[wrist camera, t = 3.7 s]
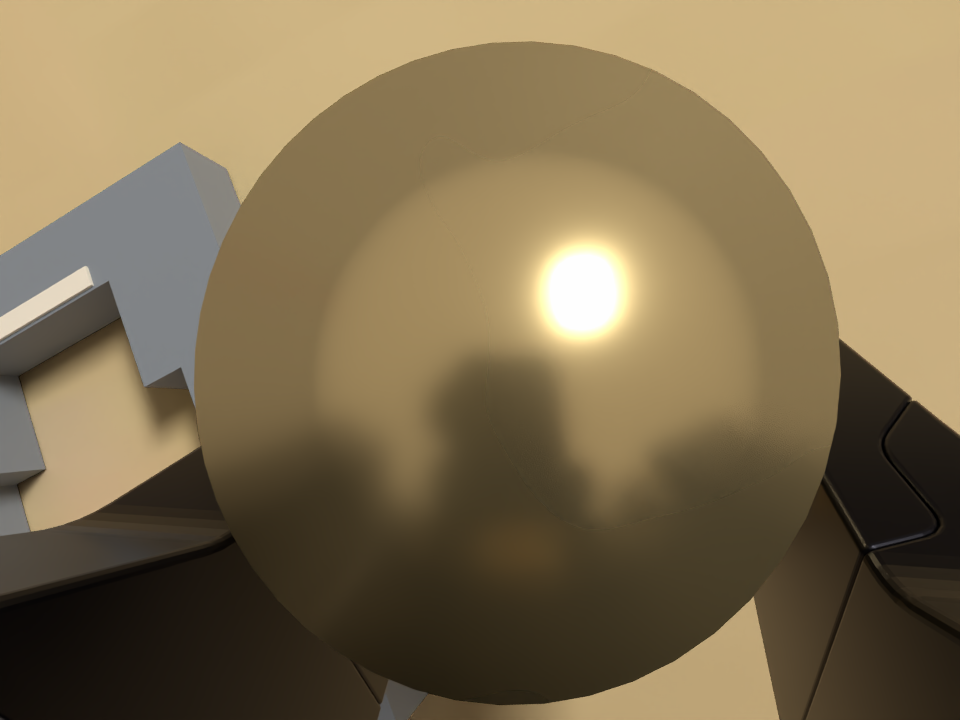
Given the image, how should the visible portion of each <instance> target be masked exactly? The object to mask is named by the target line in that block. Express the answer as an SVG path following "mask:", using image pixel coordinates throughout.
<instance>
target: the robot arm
mask: <svg viewBox="0 0 960 720" xmlns="http://www.w3.org/2000/svg"><path fill="white" fill-rule="evenodd" d="M839 348H840V366H841V378H840V390H839V401H838V412H837V423H836V427H835V432H834V436H833V440H832V444H831V448H830V452H829V456H828V461H827V465H826V469H825V473H824V475H823V478H822V480H821V483H820V485H819V488H818V490H817V493H816V495H815V498H814V500H813V503H812V505H811V508H810V510H809V513H808V515H807V517H806V519H805V521H804V523H803V525H802V526H801V528H800V530H799V531H798V533H797V535H796V537H795V538H794V540H793V542H792V543H791V545H790V547H789V549H788V550H787V552H786V554H785V555H784V557H783V559H782V561H781V562H780V563H779V565H778V566H777V567H776V568H775V570H774V571H773V572H772V573H771V575H770V576H769V577H768V578H767V580H766V581H765V582H764V583H763V585H762V586H761V587H760V588H759V590H758V591H757V592H756V593H755V595H754V600H755V605H756V610H757V615H758V619H759V624H760V629H761V634H762V638H763V643H764V648H765V653H766V658H767V662H768V667H769V672H770V677H771V681H772V686H773V691H774V696H775V700H776V705H777V710H778V715H779V719H780V720H960V435H959V434H958V433H956V432H955V431H954V430H952V429H951V428H950V427H949V426H947V425H946V424H945V423H943V422H942V421H941V420H939V419H938V418H937V417H936V416H935V415H933V414H932V413H931V412H930V411H928V410H927V409H926V408H925V407H923V406H922V405H921V404H920V403H919V402H917V401H912V398H911V396H910V395H908V394H907V393H906V392H905V391H903V390H902V389H901V388H900V387H898V386H897V385H896V384H895V383H894V382H892V381H891V380H890V379H889V378H887V377H886V376H885V375H884V374H882V373H881V372H880V371H879V370H878V369H876V368H875V367H874V366H873V365H871V364H870V363H869V362H868V361H867V360H865V359H864V358H863V357H862V356H860V355H859V354H858V353H857V352H855V351H854V350H853V349H852V348H851V347H849V346H848V345H847V344H846V343H844V342H843V341H842V340H841V339H839ZM388 680H389V679H387V678H384V677H382V676H379V675H377V674H375V673H373V672H371V671H369V670H368V669H366V668H364V667H362V666H361V665H359V664H357V663H355V662H354V661H352V660H350V659H348V658H347V657H345V656H343V655H341V654H340V653H338V652H337V651H336V650H334V649H333V648H332V647H330V646H329V645H328V644H326V643H325V642H324V641H322V640H321V639H320V638H318V637H317V636H316V635H314V634H313V633H312V632H310V631H309V630H308V629H307V628H305V627H304V626H303V625H302V624H301V623H300V622H299V621H298V620H297V619H296V618H295V617H294V616H293V615H292V614H291V613H290V612H289V611H288V610H287V609H286V608H285V607H284V606H283V605H282V604H281V603H280V602H279V601H278V600H277V599H276V597H275V596H274V595H273V594H272V592H271V591H270V590H269V589H268V587H267V586H266V585H265V584H264V582H263V581H262V580H261V579H260V577H259V576H258V575H257V573H256V572H255V571H254V570H253V568H252V567H251V565H250V563H249V562H248V560H247V558H246V557H245V555H244V553H243V552H242V550H241V549H240V547H239V545H238V544H237V542H236V540H235V539H234V537H233V535H232V533H231V531H230V529H229V527H228V524H227V522H226V520H225V518H224V516H223V514H222V511H221V509H220V507H219V505H218V503H217V500H216V497H215V494H214V491H213V488H212V485H211V482H210V479H209V476H208V473H207V469H206V466H205V463H204V458H203V453H202V448H201V446H200V447H199V448H197V449H196V450H194V451H193V452H191V453H189V454H188V455H186V456H185V457H183V458H181V459H180V460H178V461H177V462H175V463H173V464H172V465H170V466H169V467H167V468H165V469H164V470H162V471H161V472H159V473H157V474H156V475H154V476H153V477H151V478H149V479H148V480H146V481H145V482H143V483H141V484H140V485H138V486H137V487H135V488H134V489H132V490H130V491H129V492H127V493H126V494H124V495H122V496H121V497H119V498H118V499H116V500H114V501H113V502H111V503H110V504H108V505H106V506H104V507H103V508H101V509H99V510H97V511H96V512H94V513H91V514H89V515H87V516H85V517H83V518H81V519H78V520H75V521H73V522H70V523H67V524H64V525H61V526H57V527H53V528H49V529H45V530H40V531H33V532H26V533H19V534H11V535H4V536H0V720H378V717H379V713H380V710H381V707H380V705H379V704H381V703H382V701H383V698H384V694H385V691H386V687H387V684H388Z"/></svg>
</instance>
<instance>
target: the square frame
mask: <svg viewBox="0 0 960 720" xmlns="http://www.w3.org/2000/svg"><path fill="white" fill-rule="evenodd" d="M240 206H241V205H240V202H239V200H238V197H237V195H236V192H235V190H234V187H233V184H232V182H231V179H230V177H229V174H228V171H227V169H226V168H224V167H222V166H221V165H219V164H217V163H215V162H214V161H212V160H210V159H208V158H207V157H205V156H203V155H201V154H200V153H198V152H196V151H194V150H193V149H191V148H189V147H187V146H186V145H184V144H182V143H180V142H179V143H178V144H176V145H174V146H173V147H171V148H170V149H168V150H167V151H165V152H163V153H162V154H160V155H159V156H157V157H155V158H154V159H152V160H151V161H149V162H148V163H146V164H144V165H143V166H141V167H140V168H138V169H136V170H135V171H133V172H132V173H130V174H129V175H127V176H125V177H124V178H122V179H121V180H119V181H117V182H116V183H114V184H113V185H111V186H110V187H108V188H106V189H105V190H103V191H102V192H100V193H99V194H97V195H95V196H94V197H92V198H91V199H89V200H87V201H86V202H84V203H83V204H81V205H80V206H78V207H76V208H75V209H73V210H72V211H70V212H68V213H67V214H65V215H64V216H62V217H61V218H59V219H57V220H56V221H54V222H53V223H51V224H49V225H48V226H46V227H45V228H43V229H42V230H40V231H38V232H37V233H35V234H34V235H32V236H31V237H29V238H27V239H26V240H24V241H23V242H21V243H19V244H18V245H16V246H15V247H13V248H12V249H10V250H8V251H7V252H5V253H4V254H2V255H0V536H4V535H11V534H19V533H26V532H30V529H29V526H28V522H27V519H26V515H25V512H24V508H23V505H22V501H21V498H20V494H19V491H18V487H17V484H18V483H20V482H22V481H24V480H26V479H28V478H30V477H31V476H33V475H35V474H37V473H39V472H41V471H43V470H45V465H44V462H43V458H42V455H41V452H40V448H39V445H38V442H37V438H36V435H35V431H34V428H33V425H32V421H31V418H30V415H29V411H28V408H27V404H26V401H25V398H24V394H23V391H22V388H21V384H20V381H19V377H18V376H19V375H21V374H23V373H25V372H26V371H28V370H30V369H32V368H33V367H35V366H37V365H39V364H40V363H42V362H44V361H45V360H47V359H49V358H51V357H52V356H54V355H56V354H58V353H59V352H61V351H63V350H65V349H66V348H68V347H70V346H71V345H73V344H75V343H77V342H78V341H80V340H82V339H84V338H85V337H87V336H89V335H91V334H92V333H94V332H96V331H98V330H99V329H101V328H103V327H104V326H106V325H108V324H110V323H111V322H113V321H115V320H117V319H118V318H120V317H121V319H122V322H123V325H124V328H125V331H126V334H127V337H128V340H129V343H130V346H131V349H132V352H133V355H134V358H135V361H136V364H137V367H138V370H139V373H140V376H141V379H142V382H143V385H144V387H154V388H174V389H189V392H190V395H191V397H192V400H193V403H194V406H195V395H194V367H195V346H196V339H197V332H198V325H199V318H200V312H201V308H202V304H203V300H204V296H205V292H206V288H207V284H208V280H209V276H210V273H211V271H212V268H213V265H214V263H215V260H216V258H217V255H218V252H219V250H220V247H221V244H222V242H223V239H224V237H225V235H226V233H227V231H228V230H229V228H230V226H231V224H232V222H233V220H234V218H235V216H236V214H237V212H238V210H239V208H240ZM195 409H196V407H195ZM427 694H428V693H426V692H422V691H418V690H414V689H412V688H409V687H407V686H404V685H402V684H399V683H397V682H394V681H392V680H388V684H387V687H386V691H385V694H384V698H383V701H382V703H381V704H379V705H380V707H381V710H380V713H379V717H378V720H408V718H409V717H410V716H411V715H412V713H413V712H414V711H415V709H416V708H417V707H418V706H419V704H420V703H421V702H422V701H423V699H424V698H425V697H426V696H427Z"/></svg>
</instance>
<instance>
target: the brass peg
mask: <svg viewBox="0 0 960 720" xmlns="http://www.w3.org/2000/svg"><path fill="white" fill-rule="evenodd" d="M840 378H841V366H840V348H839V331H838V321H837V316H836V311H835V307H834V302H833V297H832V292H831V287H830V282H829V277H828V274H827V271H826V269H825V266H824V263H823V260H822V258H821V255H820V252H819V249H818V246H817V244H816V241H815V238H814V235H813V233H812V230H811V228H810V227H809V225H808V223H807V221H806V219H805V217H804V215H803V214H802V212H801V210H800V208H799V206H798V204H797V202H796V200H795V199H794V197H793V195H792V193H791V191H790V189H789V188H788V187H787V185H786V184H785V183H784V181H783V180H782V178H781V177H780V176H779V174H778V173H777V172H776V170H775V169H774V168H773V166H772V165H771V164H770V162H769V161H768V160H767V158H766V157H765V155H764V154H763V153H762V152H761V151H760V149H759V148H758V147H757V146H756V145H755V144H754V143H753V142H752V141H751V140H750V139H749V138H748V137H747V136H746V135H745V134H744V133H743V132H742V131H741V130H740V129H739V128H738V127H737V126H736V125H735V124H734V123H733V122H732V121H731V120H730V119H729V118H727V117H726V116H725V115H723V114H722V113H721V112H719V111H718V110H717V109H715V108H714V107H713V106H711V105H710V104H709V103H707V102H706V101H705V100H703V99H702V98H701V97H700V96H698V95H697V94H696V93H694V92H693V91H691V90H689V89H687V88H685V87H684V86H682V85H680V84H678V83H676V82H675V81H673V80H671V79H669V78H667V77H666V76H664V75H662V74H660V73H658V72H657V71H654V70H652V69H649V68H647V67H644V66H641V65H639V64H636V63H634V62H631V61H629V60H626V59H623V58H621V57H618V56H616V55H612V54H607V53H603V52H599V51H595V50H591V49H586V48H582V47H578V46H573V45H563V44H553V43H543V42H503V43H488V44H482V45H476V46H469V47H463V48H457V49H451V50H448V51H445V52H441V53H438V54H434V55H431V56H428V57H424V58H421V59H417V60H414V61H412V62H409V63H407V64H405V65H402V66H400V67H398V68H395V69H393V70H391V71H389V72H386V73H384V74H382V75H379V76H377V77H376V78H374V79H372V80H370V81H369V82H367V83H365V84H364V85H362V86H360V87H358V88H357V89H355V90H353V91H352V92H350V93H348V94H346V95H345V96H343V97H342V98H341V99H339V100H338V101H337V102H335V103H334V104H333V105H331V106H330V107H329V108H327V109H326V110H325V111H323V112H322V113H321V114H319V115H318V116H317V117H315V118H314V119H313V120H312V121H311V122H310V123H309V124H308V125H307V126H306V127H304V128H303V129H302V130H301V131H300V132H299V133H298V134H297V135H296V136H295V137H294V138H293V139H292V140H291V141H290V142H289V143H288V144H287V145H286V146H285V147H284V148H283V149H282V150H281V152H280V153H279V154H278V155H277V156H276V158H275V159H274V160H273V161H272V162H271V164H270V165H269V166H268V167H267V168H266V170H265V171H264V172H263V173H262V174H261V176H260V177H259V179H258V180H257V182H256V183H255V185H254V186H253V188H252V189H251V191H250V192H249V194H248V195H247V197H246V199H245V200H244V202H243V203H242V205H241V206H240V208H239V210H238V212H237V214H236V216H235V218H234V220H233V222H232V224H231V226H230V228H229V230H228V231H227V233H226V235H225V237H224V239H223V242H222V244H221V247H220V250H219V252H218V255H217V258H216V260H215V263H214V265H213V268H212V271H211V273H210V276H209V280H208V284H207V288H206V292H205V296H204V300H203V304H202V308H201V312H200V318H199V325H198V332H197V339H196V346H195V367H194V395H195V407H196V419H197V428H198V433H199V438H200V443H201V448H202V453H203V458H204V463H205V466H206V469H207V473H208V476H209V479H210V482H211V485H212V488H213V491H214V494H215V497H216V500H217V503H218V505H219V507H220V509H221V511H222V514H223V516H224V518H225V520H226V522H227V524H228V527H229V529H230V531H231V533H232V535H233V537H234V539H235V540H236V542H237V544H238V545H239V547H240V549H241V550H242V552H243V553H244V555H245V557H246V558H247V560H248V562H249V563H250V565H251V567H252V568H253V570H254V571H255V572H256V573H257V575H258V576H259V577H260V579H261V580H262V581H263V582H264V584H265V585H266V586H267V587H268V589H269V590H270V591H271V592H272V594H273V595H274V596H275V597H276V599H277V600H278V601H279V602H280V603H281V604H282V605H283V606H284V607H285V608H286V609H287V610H288V611H289V612H290V613H291V614H292V615H293V616H294V617H295V618H296V619H297V620H298V621H299V622H300V623H301V624H302V625H303V626H304V627H305V628H307V629H308V630H309V631H310V632H312V633H313V634H314V635H316V636H317V637H318V638H320V639H321V640H322V641H324V642H325V643H326V644H328V645H329V646H330V647H332V648H333V649H334V650H336V651H337V652H338V653H340V654H341V655H343V656H345V657H347V658H348V659H350V660H352V661H354V662H355V663H357V664H359V665H361V666H362V667H364V668H366V669H368V670H369V671H371V672H373V673H375V674H377V675H379V676H382V677H384V678H387V679H389V680H392V681H394V682H397V683H399V684H402V685H404V686H407V687H409V688H412V689H414V690H418V691H422V692H426V693H430V694H433V695H437V696H441V697H445V698H449V699H453V700H459V701H468V702H477V703H486V704H495V705H516V704H545V703H551V702H556V701H562V700H568V699H574V698H579V697H585V696H590V695H593V694H596V693H599V692H602V691H605V690H608V689H611V688H614V687H618V686H621V685H624V684H627V683H630V682H633V681H635V680H637V679H639V678H641V677H643V676H645V675H647V674H649V673H651V672H653V671H655V670H657V669H659V668H661V667H663V666H665V665H667V664H669V663H671V662H673V661H675V660H677V659H678V658H680V657H681V656H682V655H684V654H685V653H687V652H688V651H690V650H691V649H693V648H694V647H695V646H697V645H698V644H700V643H701V642H703V641H704V640H706V639H707V638H708V637H710V636H711V635H713V634H714V633H715V632H716V631H718V630H719V629H720V628H721V627H722V626H723V625H724V624H725V623H726V622H727V621H728V620H729V619H730V618H731V617H733V616H734V615H735V614H736V613H737V612H738V611H739V610H740V609H741V608H742V607H743V606H744V605H745V604H746V603H748V602H749V601H750V600H751V598H752V597H753V596H754V595H755V593H756V592H757V591H758V590H759V588H760V587H761V586H762V585H763V583H764V582H765V581H766V580H767V578H768V577H769V576H770V575H771V573H772V572H773V571H774V570H775V568H776V567H777V566H778V565H779V563H780V562H781V561H782V559H783V557H784V555H785V554H786V552H787V550H788V549H789V547H790V545H791V543H792V542H793V540H794V538H795V537H796V535H797V533H798V531H799V530H800V528H801V526H802V525H803V523H804V521H805V519H806V517H807V515H808V513H809V510H810V508H811V505H812V503H813V500H814V498H815V495H816V493H817V490H818V488H819V485H820V483H821V480H822V478H823V475H824V473H825V469H826V465H827V461H828V456H829V452H830V448H831V444H832V440H833V436H834V432H835V427H836V423H837V412H838V401H839V390H840Z"/></svg>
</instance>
